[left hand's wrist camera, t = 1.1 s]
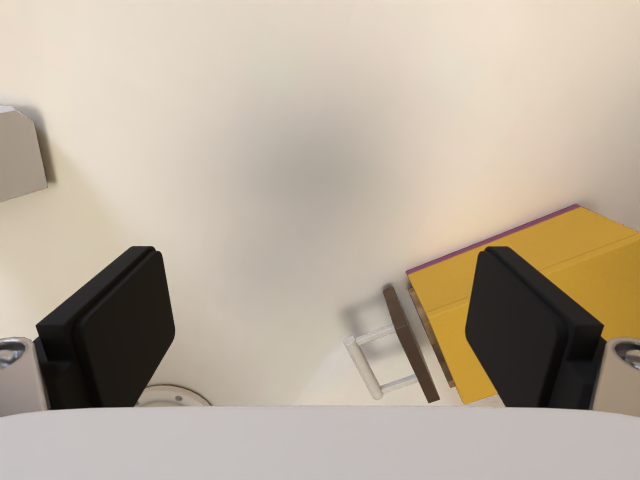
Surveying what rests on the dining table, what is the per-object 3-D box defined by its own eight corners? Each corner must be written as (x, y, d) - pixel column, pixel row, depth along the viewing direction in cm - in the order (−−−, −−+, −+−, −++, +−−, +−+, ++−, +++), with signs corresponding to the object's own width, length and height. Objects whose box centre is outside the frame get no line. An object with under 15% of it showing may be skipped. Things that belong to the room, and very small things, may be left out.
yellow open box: (436, 346, 44) (463, 405, 36) (405, 271, 40) (427, 317, 32) (594, 290, 41) (662, 340, 33) (576, 204, 37) (648, 236, 29)
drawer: (370, 371, 44) (378, 420, 38) (337, 308, 41) (340, 349, 34) (559, 304, 41) (604, 344, 34) (540, 228, 37) (586, 258, 31)
